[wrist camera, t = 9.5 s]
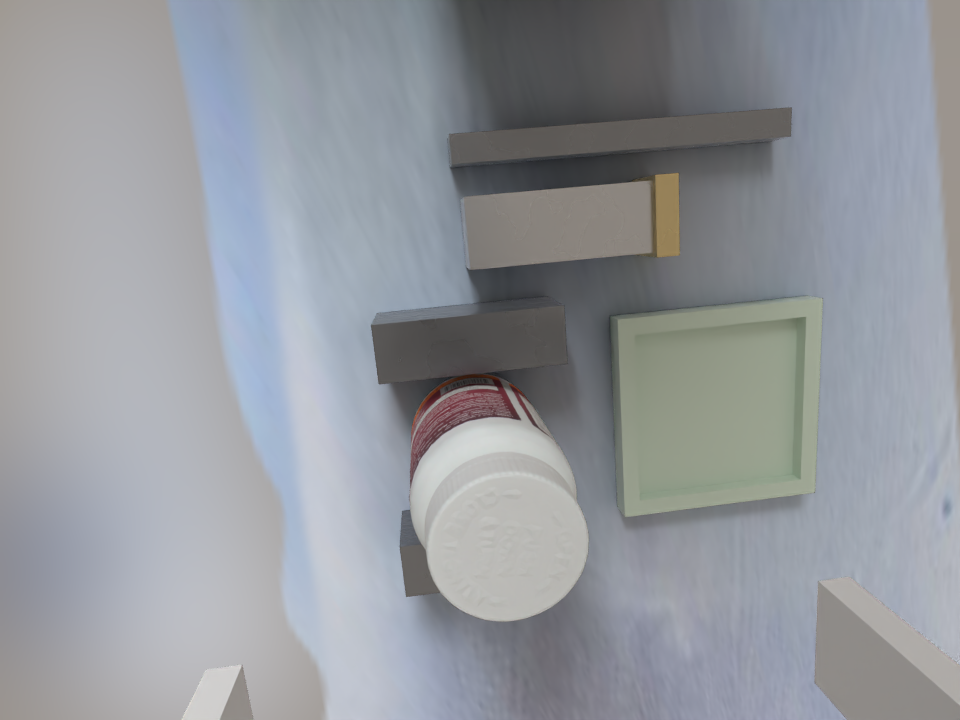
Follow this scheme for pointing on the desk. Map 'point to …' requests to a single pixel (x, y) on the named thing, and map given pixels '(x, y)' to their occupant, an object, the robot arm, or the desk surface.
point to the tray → (715, 403)
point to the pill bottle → (494, 501)
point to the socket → (462, 366)
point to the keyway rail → (618, 137)
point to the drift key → (572, 223)
